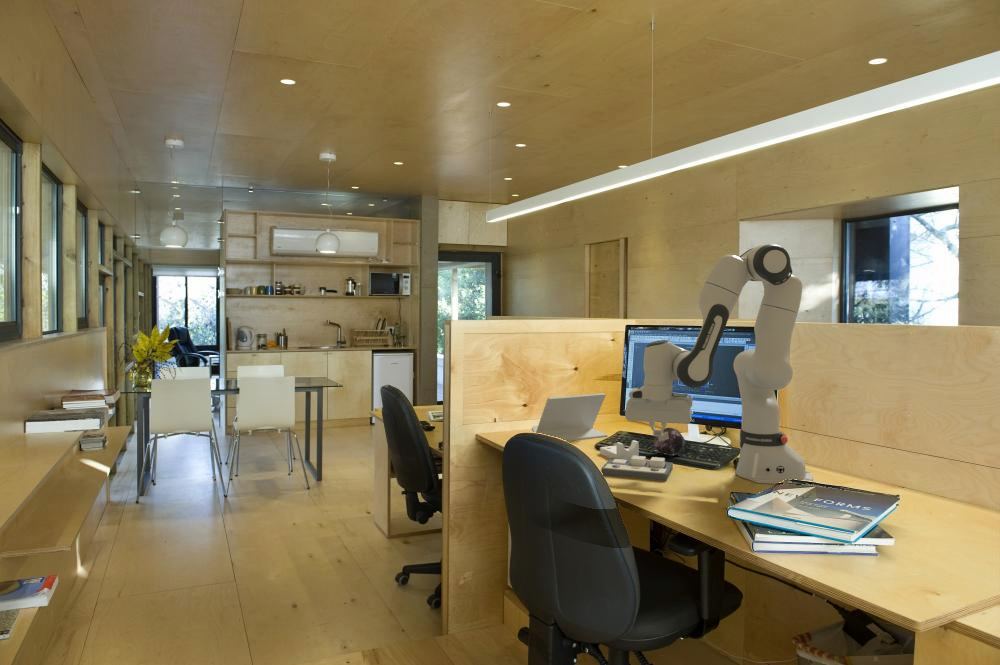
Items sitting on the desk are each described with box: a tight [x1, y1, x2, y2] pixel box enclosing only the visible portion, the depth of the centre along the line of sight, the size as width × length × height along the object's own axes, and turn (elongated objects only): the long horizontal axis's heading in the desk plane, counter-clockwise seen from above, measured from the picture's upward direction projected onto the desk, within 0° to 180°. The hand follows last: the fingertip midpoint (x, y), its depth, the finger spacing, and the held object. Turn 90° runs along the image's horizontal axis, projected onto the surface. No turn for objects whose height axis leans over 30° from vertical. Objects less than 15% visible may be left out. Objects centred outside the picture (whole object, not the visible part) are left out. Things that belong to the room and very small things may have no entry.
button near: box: [649, 456, 666, 469], centre depth 222 cm, size 4×4×2 cm
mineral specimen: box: [653, 427, 686, 454], centre depth 247 cm, size 10×10×10 cm
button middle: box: [631, 455, 647, 467], centre depth 225 cm, size 4×4×2 cm
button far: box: [612, 459, 627, 465], centre depth 227 cm, size 4×4×2 cm
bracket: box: [599, 440, 640, 459], centre depth 241 cm, size 13×7×8 cm, turn 24°
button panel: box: [600, 457, 674, 482], centre depth 223 cm, size 20×14×3 cm
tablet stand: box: [531, 392, 609, 442], centre depth 278 cm, size 18×25×17 cm
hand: (658, 435), depth 222 cm, fingers closed
